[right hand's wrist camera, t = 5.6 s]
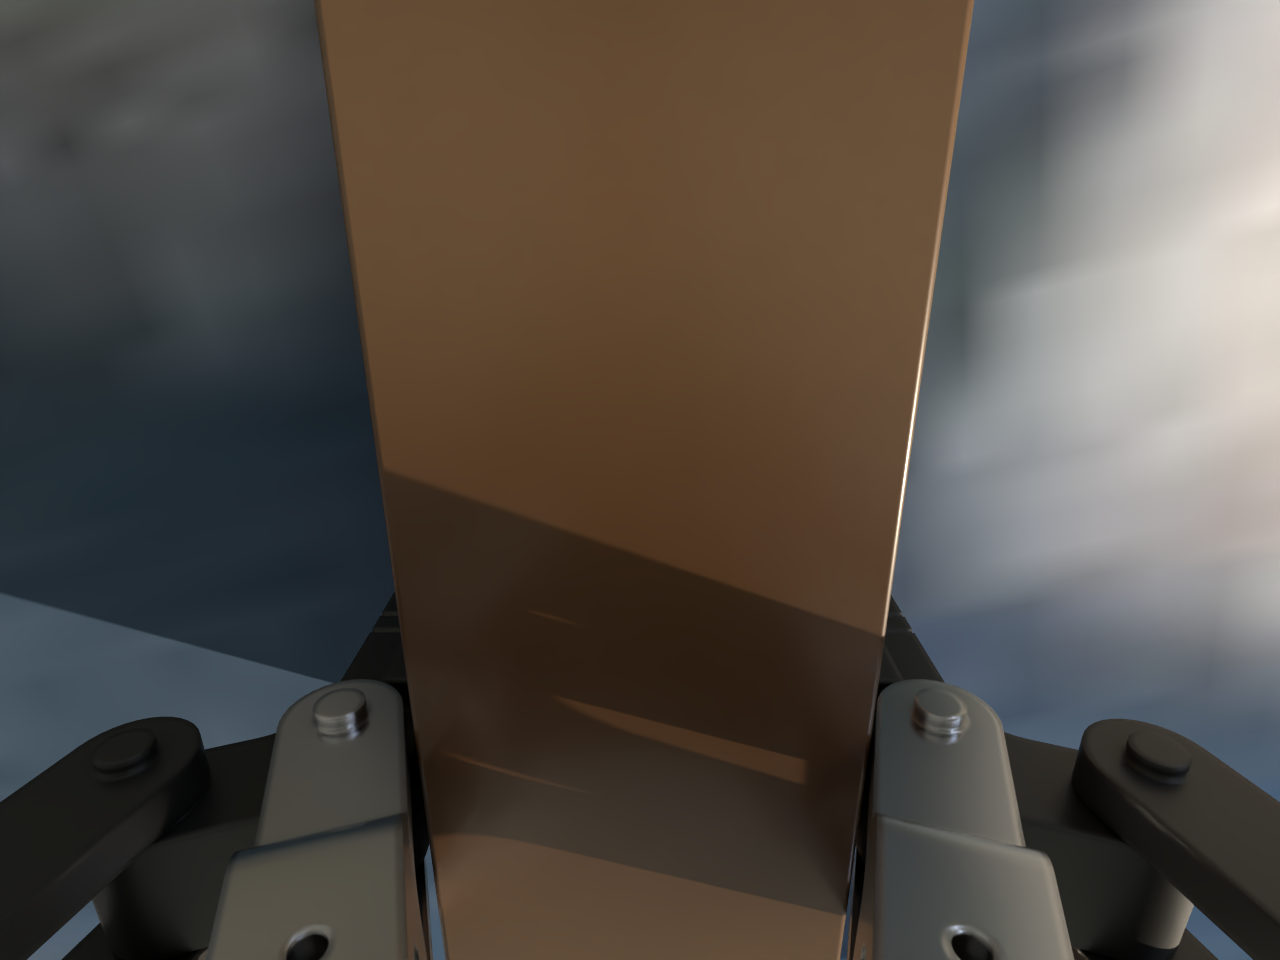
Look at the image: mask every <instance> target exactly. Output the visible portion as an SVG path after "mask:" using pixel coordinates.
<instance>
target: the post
mask: <svg viewBox="0 0 1280 960" xmlns="http://www.w3.org/2000/svg"><path fill="white" fill-rule="evenodd" d="M973 4H974V0H314V5H315V12H316V19H317V26H318V34H319V41H320V48H321V56H322V63H323V70H324V77H325V85H326V92H327V99H328V107H329V114H330V121H331V128H332V136H333V143H334V150H335V158H336V165H337V172H338V179H339V187H340V194H341V201H342V209H343V216H344V223H345V230H346V238H347V245H348V252H349V260H350V267H351V274H352V281H353V289H354V296H355V303H356V311H357V318H358V325H359V333H360V340H361V347H362V354H363V362H364V369H365V376H366V384H367V391H368V398H369V405H370V413H371V420H372V427H373V435H374V442H375V449H376V456H377V464H378V471H379V478H380V486H381V493H382V500H383V507H384V515H385V522H386V529H387V537H388V544H389V551H390V558H391V566H392V573H393V580H394V588H395V595H396V602H397V609H398V617H399V624H400V631H401V639H402V646H403V653H404V660H405V668H406V675H407V682H408V690H409V697H410V704H411V712H412V719H413V726H414V733H415V741H416V748H417V755H418V763H419V770H420V777H421V784H422V792H423V799H424V806H425V814H426V821H427V828H428V835H429V843H430V850H431V857H432V865H433V872H434V879H435V886H436V894H437V901H438V908H439V916H440V923H441V930H442V937H443V945H444V952H445V959H446V960H840V955H841V947H842V940H843V933H844V926H845V919H846V912H847V905H848V897H849V890H850V883H851V876H852V869H853V862H854V854H855V847H856V840H857V833H858V826H859V819H860V812H861V804H862V797H863V790H864V783H865V776H866V769H867V762H868V754H869V747H870V740H871V733H872V726H873V719H874V712H875V704H876V697H877V690H878V683H879V676H880V669H881V662H882V654H883V647H884V640H885V633H886V626H887V619H888V612H889V604H890V597H891V590H892V583H893V576H894V569H895V562H896V554H897V547H898V540H899V533H900V526H901V519H902V512H903V504H904V497H905V490H906V483H907V476H908V469H909V462H910V454H911V447H912V440H913V433H914V426H915V419H916V412H917V404H918V397H919V390H920V383H921V376H922V369H923V362H924V354H925V347H926V340H927V333H928V326H929V319H930V312H931V304H932V297H933V290H934V283H935V276H936V269H937V262H938V254H939V247H940V240H941V233H942V226H943V219H944V212H945V204H946V197H947V190H948V183H949V176H950V169H951V162H952V154H953V147H954V140H955V133H956V126H957V119H958V112H959V104H960V97H961V90H962V83H963V76H964V69H965V62H966V54H967V47H968V40H969V33H970V26H971V19H972V12H973Z"/></svg>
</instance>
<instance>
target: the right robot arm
mask: <svg viewBox="0 0 1280 960" xmlns="http://www.w3.org/2000/svg"><path fill="white" fill-rule="evenodd" d="M382 613H383V614H382V616H380V617H379V619H378V620H377V622H376V624H375V625H374V627H373V632H372V633H370V634H369V635H368V637H367V639H366V640H365V642H364V644H363V645H362V647H361V649H360V650H359V652H358V654H357V655H356V657H355V659H354V660H353V662H352V663H351V665H350V667H349V668H348V670H347V672H346V673H345V675H344V677H343V678H342V680H341V682H337V683H333V684H330V685H326V686H323V687H321V688H319V689H316V690H314V691H312V692H310V693H308V694H307V695H305V696H303V697H302V698H300V699H299V700H297V701H296V702H295V703H294V704H293V705H291V706H290V707H289V708H288V709H287V711H286V712H285V713H284V714H283V716H282V717H281V719H280V721H279V723H278V726H277V731H276V733H274V734H271V735H268V736H264V737H260V738H256V739H252V740H247V741H242V742H238V743H233V744H228V745H224V746H219V747H214V748H210V749H205V750H204V746H203V742H202V739H201V735H200V732H199V730H198V728H197V727H196V726H195V725H194V724H193V723H191V722H190V721H188V720H185V719H182V718H176V717H154V718H147V719H141V720H137V721H133V722H130V723H126V724H123V725H120V726H118V727H115V728H112V729H110V730H108V731H106V732H103V733H101V734H99V735H97V736H95V737H94V738H92V739H90V740H88V741H87V742H85V743H84V744H82V745H81V746H79V747H78V748H76V749H75V750H73V751H72V752H70V753H69V754H68V755H66V756H65V757H63V758H62V759H61V760H59V761H58V762H56V763H55V764H54V765H52V766H51V767H49V768H48V769H47V770H45V771H44V772H42V773H41V774H39V775H38V776H37V777H35V778H34V779H32V780H31V781H30V782H28V783H27V784H25V785H24V786H23V787H21V788H20V789H18V790H17V791H16V792H14V793H13V794H11V795H10V796H8V797H7V798H6V799H4V800H3V801H1V802H0V960H27V959H28V958H29V957H30V956H31V955H32V954H33V953H34V952H35V951H36V950H38V949H39V948H40V947H41V946H42V945H43V944H44V943H45V942H46V941H47V940H48V939H50V938H51V937H52V936H53V935H54V934H55V933H56V932H57V931H58V930H59V929H60V928H61V927H63V926H64V925H65V924H66V923H67V922H68V921H69V920H70V919H71V918H72V917H73V916H75V915H76V914H77V913H78V912H79V911H80V910H81V909H82V908H83V907H84V906H85V905H87V904H88V903H89V902H90V901H91V900H92V901H93V904H94V906H95V909H96V912H97V914H98V917H99V920H100V923H99V924H98V925H97V926H96V927H95V928H94V929H93V930H92V931H91V932H90V933H89V934H88V935H87V936H86V937H85V938H84V939H83V940H82V941H81V942H79V943H78V944H77V945H76V946H75V947H74V948H73V949H72V950H71V951H70V952H69V953H68V954H67V955H66V956H65V957H64V958H63V959H62V960H433V952H432V937H431V922H430V908H429V893H428V878H427V869H426V862H425V855H426V853H427V850H428V846H429V835H428V828H427V821H426V814H425V806H424V799H423V792H422V784H421V777H420V770H419V763H418V755H417V748H416V741H415V733H414V726H413V719H412V712H411V704H410V697H409V690H408V682H407V675H406V668H405V660H404V653H403V646H402V639H401V631H400V624H399V617H398V609H397V602H396V595H395V593H394V594H393V596H392V597H391V599H390V601H389V602H388V604H387V606H386V607H385V609H384V611H383V612H382ZM856 846H857V847H856V854H855V861H854V868H853V877H852V892H851V907H850V921H849V936H848V951H847V960H1218V959H1217V958H1216V957H1215V956H1214V955H1213V954H1212V953H1211V952H1210V951H1209V950H1208V949H1207V948H1206V947H1205V946H1204V945H1203V944H1202V943H1201V942H1199V941H1198V940H1197V939H1196V938H1195V937H1194V936H1193V935H1192V934H1191V933H1190V932H1189V931H1188V930H1187V929H1186V928H1185V927H1186V924H1187V922H1188V919H1189V916H1190V914H1191V911H1192V909H1193V906H1194V905H1195V906H1196V907H1197V908H1198V909H1199V910H1200V911H1201V912H1202V913H1203V914H1204V915H1205V916H1207V917H1208V918H1209V919H1210V920H1211V921H1212V922H1213V923H1214V924H1215V925H1216V926H1217V927H1219V928H1220V929H1221V930H1222V931H1223V932H1224V933H1225V934H1226V935H1227V936H1228V937H1229V938H1230V939H1232V940H1233V941H1234V942H1235V943H1236V944H1237V945H1238V946H1239V947H1240V948H1241V949H1242V950H1244V951H1245V952H1246V953H1247V954H1248V955H1249V956H1250V957H1251V958H1252V959H1253V960H1280V802H1279V801H1277V800H1276V799H1274V798H1273V797H1272V796H1270V795H1269V794H1267V793H1266V792H1264V791H1263V790H1262V789H1260V788H1259V787H1257V786H1256V785H1255V784H1253V783H1252V782H1250V781H1249V780H1248V779H1246V778H1245V777H1243V776H1242V775H1241V774H1239V773H1238V772H1236V771H1235V770H1233V769H1232V768H1231V767H1229V766H1228V765H1226V764H1225V763H1224V762H1222V761H1221V760H1219V759H1218V758H1217V757H1215V756H1214V755H1212V754H1211V753H1210V752H1208V751H1207V750H1205V749H1204V748H1202V747H1201V746H1199V745H1198V744H1196V743H1195V742H1193V741H1191V740H1189V739H1187V738H1185V737H1184V736H1182V735H1179V734H1177V733H1175V732H1173V731H1170V730H1168V729H1165V728H1162V727H1159V726H1156V725H1153V724H1149V723H1146V722H1141V721H1136V720H1128V719H1107V720H1101V721H1098V722H1095V723H1093V724H1092V725H1090V726H1088V728H1087V729H1086V730H1085V731H1084V734H1083V736H1082V740H1081V744H1080V747H1079V750H1076V749H1071V748H1066V747H1062V746H1057V745H1052V744H1048V743H1043V742H1038V741H1034V740H1029V739H1025V738H1021V737H1017V736H1014V735H1011V734H1008V733H1005V732H1004V731H1003V727H1002V724H1001V721H1000V719H999V717H998V716H997V714H996V713H995V712H994V711H993V709H992V708H991V707H990V706H989V705H987V704H986V703H985V702H984V701H983V700H981V699H980V698H978V697H977V696H975V695H973V694H972V693H970V692H968V691H966V690H964V689H961V688H959V687H957V686H954V685H950V684H947V683H945V682H944V681H943V679H942V677H941V676H940V674H939V672H938V671H937V669H936V668H935V666H934V664H933V663H932V661H931V659H930V658H929V656H928V655H927V653H926V651H925V650H924V648H923V646H922V645H921V643H920V642H919V640H918V638H917V637H916V635H915V633H912V629H911V627H910V625H909V624H908V622H907V620H906V619H905V617H902V612H901V611H900V609H899V607H898V606H897V604H896V602H895V601H894V599H893V598H892V596H891V597H890V604H889V612H888V619H887V626H886V633H885V640H884V647H883V654H882V662H881V669H880V676H879V683H878V690H877V697H876V704H875V712H874V719H873V726H872V733H871V740H870V747H869V754H868V762H867V769H866V776H865V783H864V790H863V797H862V804H861V812H860V819H859V826H858V833H857V840H856Z"/></svg>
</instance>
